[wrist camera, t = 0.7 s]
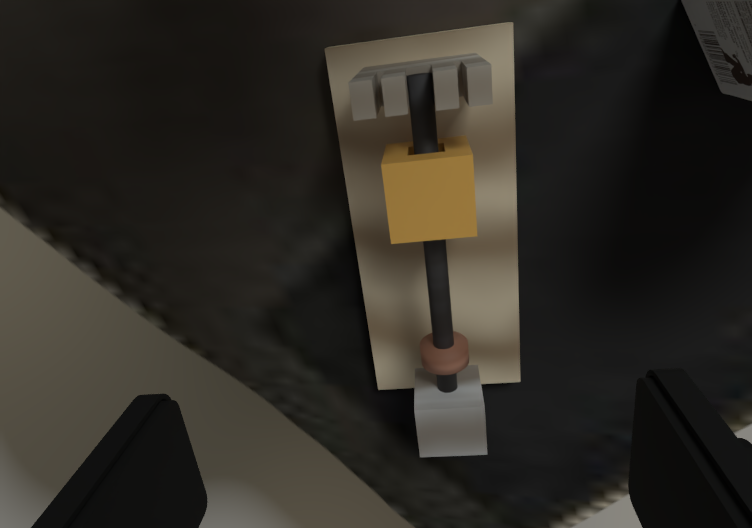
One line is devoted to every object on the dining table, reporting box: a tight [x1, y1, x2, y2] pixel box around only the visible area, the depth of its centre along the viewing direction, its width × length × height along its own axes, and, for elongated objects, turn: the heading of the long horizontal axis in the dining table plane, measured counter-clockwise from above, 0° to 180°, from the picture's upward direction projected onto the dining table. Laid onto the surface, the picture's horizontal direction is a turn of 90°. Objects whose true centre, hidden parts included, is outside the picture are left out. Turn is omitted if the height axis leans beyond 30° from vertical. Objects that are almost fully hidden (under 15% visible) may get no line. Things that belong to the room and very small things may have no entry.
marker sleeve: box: [381, 135, 477, 244], centre depth 27 cm, size 4×4×4 cm
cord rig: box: [325, 22, 520, 457], centre depth 31 cm, size 23×10×9 cm, turn 7°
